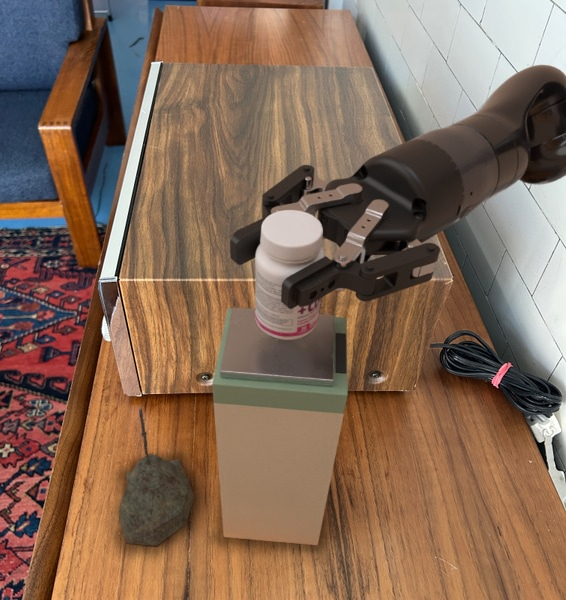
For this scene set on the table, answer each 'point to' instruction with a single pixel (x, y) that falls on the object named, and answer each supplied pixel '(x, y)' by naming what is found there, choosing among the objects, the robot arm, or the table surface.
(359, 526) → the table surface
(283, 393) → the scale
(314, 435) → the pedestal
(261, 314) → the pill bottle
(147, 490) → the grey rough stone lump
